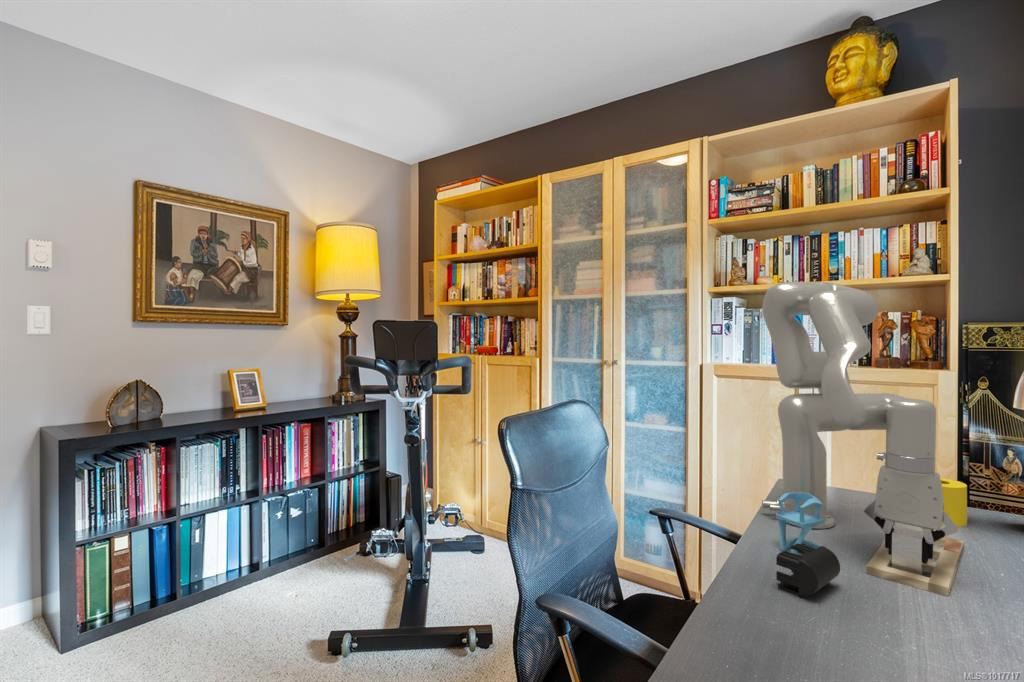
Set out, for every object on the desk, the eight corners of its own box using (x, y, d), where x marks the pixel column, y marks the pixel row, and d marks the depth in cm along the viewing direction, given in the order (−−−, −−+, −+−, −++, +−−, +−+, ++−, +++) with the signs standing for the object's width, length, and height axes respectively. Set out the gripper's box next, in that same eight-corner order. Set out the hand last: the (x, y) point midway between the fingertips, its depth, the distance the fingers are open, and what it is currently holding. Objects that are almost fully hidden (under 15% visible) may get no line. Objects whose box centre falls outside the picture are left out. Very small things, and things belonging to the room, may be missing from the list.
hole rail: (866, 573, 97) (866, 565, 97) (895, 532, 117) (895, 525, 117) (948, 596, 88) (948, 587, 88) (963, 547, 109) (963, 540, 109)
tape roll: (962, 517, 128) (962, 480, 128) (971, 529, 119) (971, 490, 119) (912, 510, 133) (912, 474, 133) (917, 521, 125) (917, 483, 125)
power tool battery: (817, 605, 86) (817, 566, 86) (775, 589, 91) (775, 552, 91) (840, 587, 92) (840, 550, 92) (799, 573, 97) (799, 538, 97)
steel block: (891, 568, 97) (892, 532, 97) (895, 560, 100) (896, 526, 100) (921, 576, 94) (921, 539, 94) (924, 568, 97) (925, 532, 97)
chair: (770, 546, 110) (769, 491, 110) (796, 540, 113) (796, 487, 113) (802, 560, 103) (802, 502, 103) (829, 553, 106) (829, 496, 106)
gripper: (853, 458, 100) (852, 549, 101) (967, 476, 88) (965, 579, 88) (862, 452, 105) (860, 538, 106) (970, 468, 93) (968, 565, 94)
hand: (908, 556), depth 97 cm, fingers closed on steel block, 4 cm apart
